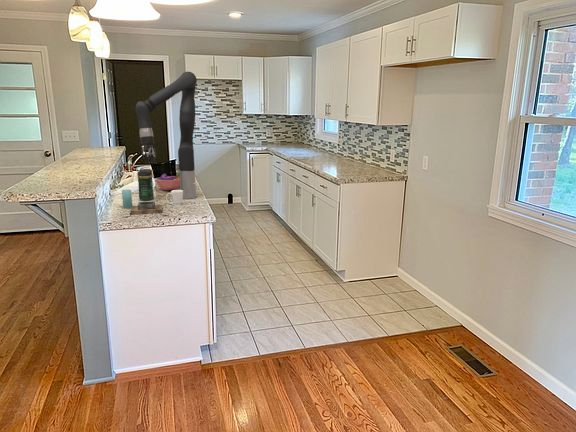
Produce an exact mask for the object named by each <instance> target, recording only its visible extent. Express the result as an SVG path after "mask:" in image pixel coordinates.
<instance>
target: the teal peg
mask: <svg viewBox="0 0 576 432" xmlns="http://www.w3.org/2000/svg"><path fill="white" fill-rule="evenodd" d="M121 197H122V207H123V209H125V210H131V208H132V206H134V205H133V196H132V189H121Z"/></svg>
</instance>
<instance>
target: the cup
mask: <svg viewBox="0 0 576 432" xmlns="http://www.w3.org/2000/svg"><path fill="white" fill-rule="evenodd" d="M168 195H171V198H172V202H173V203H171V202H170V201H169V200H168V199H167V197H168ZM165 200H166V202H167V203H169V204H170V205H173V206H181V205H182V202H183V190H180V189H178V190H170V192H168V193H167V194H166V196H165Z"/></svg>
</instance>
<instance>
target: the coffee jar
mask: <svg viewBox="0 0 576 432" xmlns="http://www.w3.org/2000/svg"><path fill="white" fill-rule="evenodd" d="M137 181H138V183H137V185H138V199H139V200H140V201H142V202H147V201H152V200H153V199H154V198H155V197H154V185H153V171H152V170H151V169H150V168H144V169H141V170H138V171H137Z"/></svg>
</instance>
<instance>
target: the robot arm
mask: <svg viewBox="0 0 576 432" xmlns="http://www.w3.org/2000/svg"><path fill="white" fill-rule="evenodd" d="M197 80H198V79H197V76H196V75H195V73H193V72H192V71H184V72H183V73H182V74H181V75H180V76H179V77H178V78H177V79H176V80H174V81H173V82H171V83H170V84H169V85H166V86H165V87H163V88H161V89H160V90H158V91H156V92H155V93H154V92H153V94H152V95H150V96H149V98H148V99H146V100H145V101H144V100H139V101H138V102H137V103H136V104H135V113H136V117H137V120H138V127H139V138H140V144H141V145H140V148H141V149H140V151H141V157H142V158H143V160H144V164H145V165H149V164H150V163H151V165H155V164H156V157H157V150H156V146H153V145H154V144H155V140H154V138H155V137H154V131H153V128H152V127H153V126H152V121H151V120H152V119H151V118H150V113H151V112H153V111H154V110H155V109H156V108H158V107H159V106H161V105H163V104H164V103H167V101H169V100H171V98H173V97H174V96H176V95H177V94H179V93H180V92H181V101H180V106H179V120H178V121H179V130H180V131H179V132H180V140H179V147H178V150H177V156H178V157H177V158H178V169H179V177H180V189H179V190H183V199H187V200H191V199H196V198H197V187H196V170H195V168H196V167H195V153H194V151H195V150H194V132H195V124H196V102H195V96H196V95H195V94H196V87H197V82H198V81H197ZM149 157H150V160H149ZM183 199H182V200H183Z"/></svg>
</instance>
